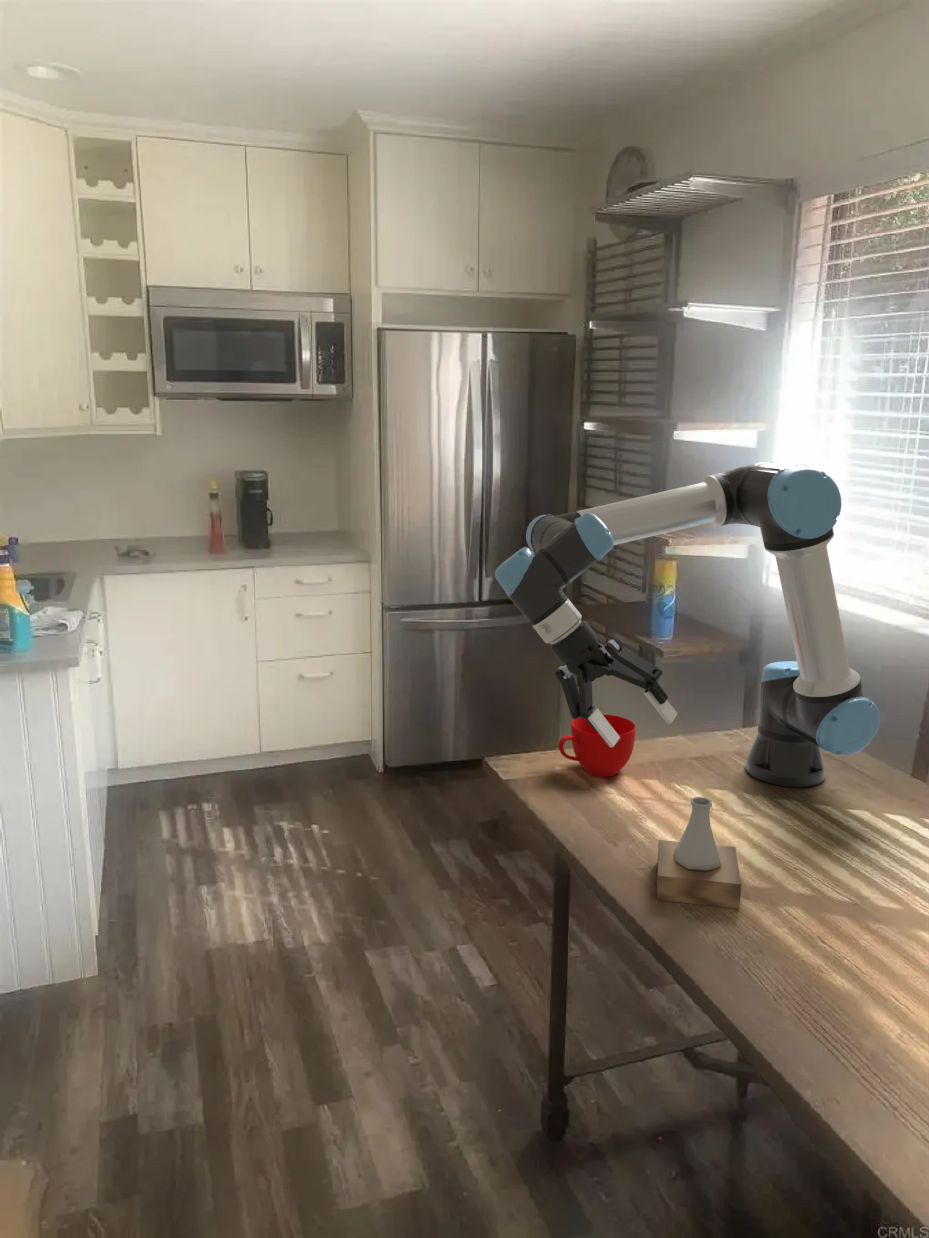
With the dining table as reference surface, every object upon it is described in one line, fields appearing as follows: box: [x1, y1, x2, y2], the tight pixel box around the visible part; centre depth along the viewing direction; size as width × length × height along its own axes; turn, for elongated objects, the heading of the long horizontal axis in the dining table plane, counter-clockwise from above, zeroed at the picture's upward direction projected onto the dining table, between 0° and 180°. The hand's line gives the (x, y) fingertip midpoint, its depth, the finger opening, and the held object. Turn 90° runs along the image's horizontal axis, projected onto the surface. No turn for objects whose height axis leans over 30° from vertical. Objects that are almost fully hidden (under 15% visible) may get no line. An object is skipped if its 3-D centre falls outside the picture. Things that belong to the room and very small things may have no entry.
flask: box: [674, 796, 721, 871], centre depth 141 cm, size 7×7×10 cm
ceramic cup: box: [557, 713, 637, 778], centre depth 186 cm, size 13×17×10 cm
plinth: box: [656, 839, 742, 910], centre depth 143 cm, size 12×12×4 cm
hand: (643, 731), depth 154 cm, fingers open, 13 cm apart
